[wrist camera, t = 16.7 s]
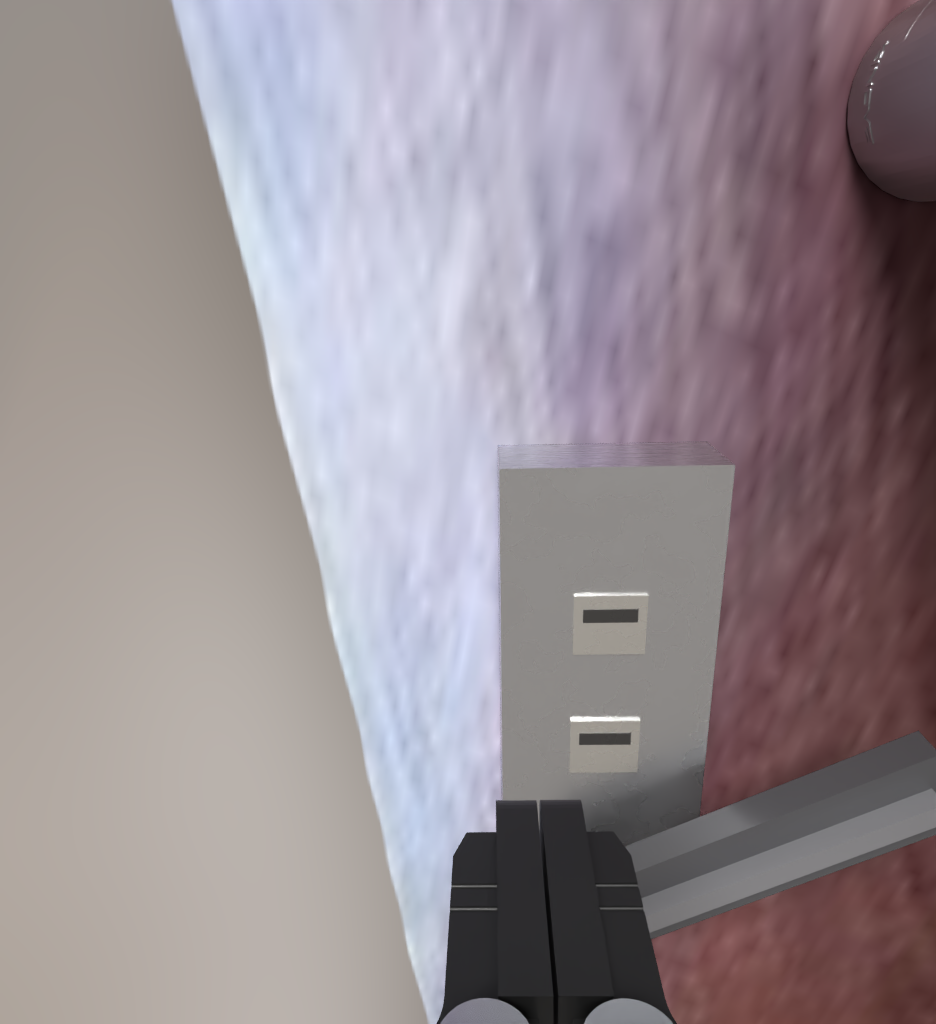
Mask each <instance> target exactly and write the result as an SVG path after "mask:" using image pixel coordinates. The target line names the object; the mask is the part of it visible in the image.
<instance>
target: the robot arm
mask: <svg viewBox="0 0 936 1024" xmlns="http://www.w3.org/2000/svg"><path fill="white" fill-rule="evenodd" d="M847 126H848V132H849V138H850V145H851V148H852V150H853V153H854V155H855V157H856V160H857V162H858V164H859V166H860V167H861V169H862V170H863V171H864V173H865V174H866V176H867V177H868V178H869V179H870V180H871V181H872V182H873V183H874V184H876V185H877V186H878V187H879V188H880V189H882V190H883V191H885V192H887V193H889V194H891V195H893V196H895V197H898V198H900V199H906V200H911V201H916V202H926V201H936V0H920V1H918V2H916V3H915V4H913V5H911V6H910V7H909V8H907V9H906V10H905V11H903V12H902V13H901V14H899V15H898V16H897V17H895V18H894V19H893V20H892V21H891V22H890V23H889V24H888V25H887V26H886V27H885V28H884V29H883V31H882V32H881V33H880V34H879V35H878V36H877V37H876V38H875V40H874V41H873V43H872V44H871V46H870V48H869V49H868V51H867V52H866V54H865V55H864V57H863V59H862V61H861V63H860V66H859V68H858V70H857V73H856V75H855V78H854V80H853V84H852V88H851V93H850V97H849V101H848V119H847ZM437 1024H677V1023H676V1022H675V1020H674V1018H673V1017H672V1015H671V1013H670V1011H669V1009H668V1006H667V1003H666V1000H665V997H664V993H663V988H662V984H661V980H660V975H659V971H658V967H657V963H656V958H655V954H654V950H653V946H652V941H651V937H650V933H649V929H648V924H647V920H646V916H645V912H644V911H643V903H642V899H641V895H640V890H639V888H638V882H637V878H636V873H635V869H634V865H633V861H632V856H631V854H630V853H629V852H628V850H627V849H626V848H625V846H624V845H623V844H622V842H621V841H620V840H619V838H618V837H617V836H616V834H615V833H614V832H613V831H602V832H587V831H586V825H585V819H584V813H583V807H582V802H581V800H540V803H539V821H538V809H537V801H536V800H496V832H474V833H466V835H465V836H464V838H463V840H462V842H461V843H460V845H459V847H458V849H457V851H456V852H455V854H454V856H453V868H452V889H451V900H450V917H449V933H448V949H447V965H446V981H445V997H444V1004H443V1009H442V1012H441V1015H440V1018H439V1020H438V1022H437Z"/></svg>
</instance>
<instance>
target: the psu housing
mask: <svg viewBox="0 0 936 1024" xmlns="http://www.w3.org/2000/svg"><path fill="white" fill-rule="evenodd" d="M734 472H735V464H734V463H732V462H731V461H730V460H729V459H727V458H726V457H725V456H724V455H723V454H721V453H720V452H719V451H718V450H716V449H715V448H714V447H713V446H712V445H710V444H709V443H708V442H653V443H598V444H542V445H498V518H499V609H500V700H501V792H502V800H536V801H537V809H538V821H539V803H540V800H581V802H582V807H583V813H584V819H585V825H586V831H587V832H602V831H613V832H614V833H615V834H616V836H617V837H618V838H619V840H620V841H621V842H622V844H623V845H624V846H627V845H630V844H632V843H635V842H637V841H640V840H643V839H645V838H648V837H650V836H653V835H655V834H658V833H660V832H663V831H665V830H668V829H670V828H673V827H676V826H678V825H681V824H683V823H686V822H688V821H691V820H693V819H696V818H698V817H699V816H700V806H701V796H702V786H703V777H704V767H705V757H706V747H707V737H708V727H709V718H710V708H711V698H712V688H713V678H714V668H715V658H716V649H717V639H718V629H719V619H720V609H721V599H722V590H723V580H724V570H725V560H726V550H727V540H728V531H729V521H730V511H731V501H732V491H733V481H734Z"/></svg>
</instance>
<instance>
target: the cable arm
mask: <svg viewBox="0 0 936 1024" xmlns="http://www.w3.org/2000/svg"><path fill="white" fill-rule="evenodd" d="M934 835H936V749H935V748H934V747H933V746H932V745H931V744H930V743H929V742H928V741H927V740H926V739H925V737H924V736H923V735H922V734H921V733H920V732H919V731H916V732H914V733H911V734H909V735H906V736H904V737H901V738H899V739H896V740H894V741H891V742H889V743H886V744H883V745H881V746H878V747H876V748H873V749H871V750H868V751H866V752H863V753H861V754H858V755H856V756H853V757H851V758H848V759H845V760H843V761H840V762H838V763H835V764H833V765H830V766H828V767H825V768H823V769H820V770H818V771H815V772H812V773H810V774H807V775H805V776H802V777H800V778H797V779H795V780H792V781H790V782H787V783H785V784H782V785H780V786H777V787H774V788H772V789H769V790H767V791H764V792H762V793H759V794H757V795H754V796H752V797H749V798H747V799H744V800H741V801H739V802H736V803H734V804H731V805H729V806H726V807H724V808H721V809H719V810H716V811H714V812H711V813H708V814H706V815H703V816H701V817H698V818H696V819H693V820H691V821H688V822H686V823H683V824H681V825H678V826H676V827H673V828H670V829H668V830H665V831H663V832H660V833H658V834H655V835H653V836H650V837H648V838H645V839H643V840H640V841H637V842H635V843H632V844H630V845H627V846H625V848H626V849H627V850H628V852H629V853H630V854H631V856H632V861H633V865H634V869H635V873H636V878H637V882H638V888H639V890H640V895H641V899H642V903H643V911H644V912H645V916H646V920H647V924H648V929H649V933H650V937H651V939H653V938H656V937H658V936H661V935H664V934H667V933H669V932H672V931H675V930H677V929H680V928H683V927H686V926H688V925H691V924H694V923H697V922H699V921H702V920H705V919H707V918H710V917H713V916H716V915H718V914H721V913H724V912H726V911H729V910H732V909H735V908H737V907H740V906H743V905H746V904H748V903H751V902H754V901H756V900H759V899H762V898H765V897H767V896H770V895H773V894H776V893H778V892H781V891H784V890H786V889H789V888H792V887H795V886H797V885H800V884H803V883H806V882H808V881H811V880H814V879H816V878H819V877H822V876H825V875H827V874H830V873H833V872H835V871H838V870H841V869H844V868H846V867H849V866H852V865H855V864H857V863H860V862H863V861H865V860H868V859H871V858H874V857H876V856H879V855H882V854H885V853H887V852H890V851H893V850H895V849H898V848H901V847H904V846H906V845H909V844H912V843H915V842H917V841H920V840H923V839H925V838H928V837H931V836H934Z"/></svg>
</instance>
